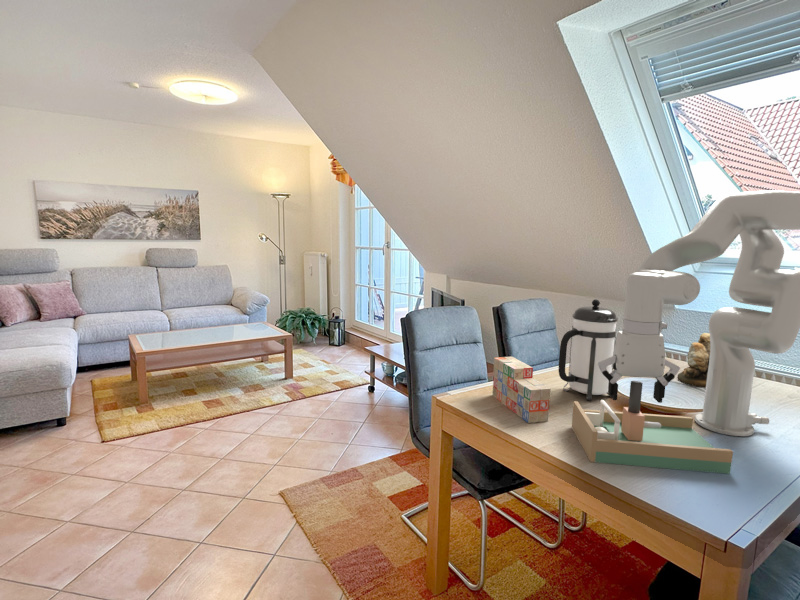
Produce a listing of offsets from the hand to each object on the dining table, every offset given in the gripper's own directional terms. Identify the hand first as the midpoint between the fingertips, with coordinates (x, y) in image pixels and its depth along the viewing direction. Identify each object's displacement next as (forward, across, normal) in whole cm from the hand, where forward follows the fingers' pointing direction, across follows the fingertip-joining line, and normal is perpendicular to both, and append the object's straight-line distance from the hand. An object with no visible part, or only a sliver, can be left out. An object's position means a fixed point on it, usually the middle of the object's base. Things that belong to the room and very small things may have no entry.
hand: (635, 399), depth 103 cm
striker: (+9, -2, 0) cm, 9 cm away
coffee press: (+12, +2, -35) cm, 37 cm away
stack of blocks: (+12, +24, -20) cm, 33 cm away
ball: (+9, +7, 0) cm, 12 cm away
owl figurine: (+13, -41, -58) cm, 72 cm away
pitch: (+12, -2, 0) cm, 12 cm away
